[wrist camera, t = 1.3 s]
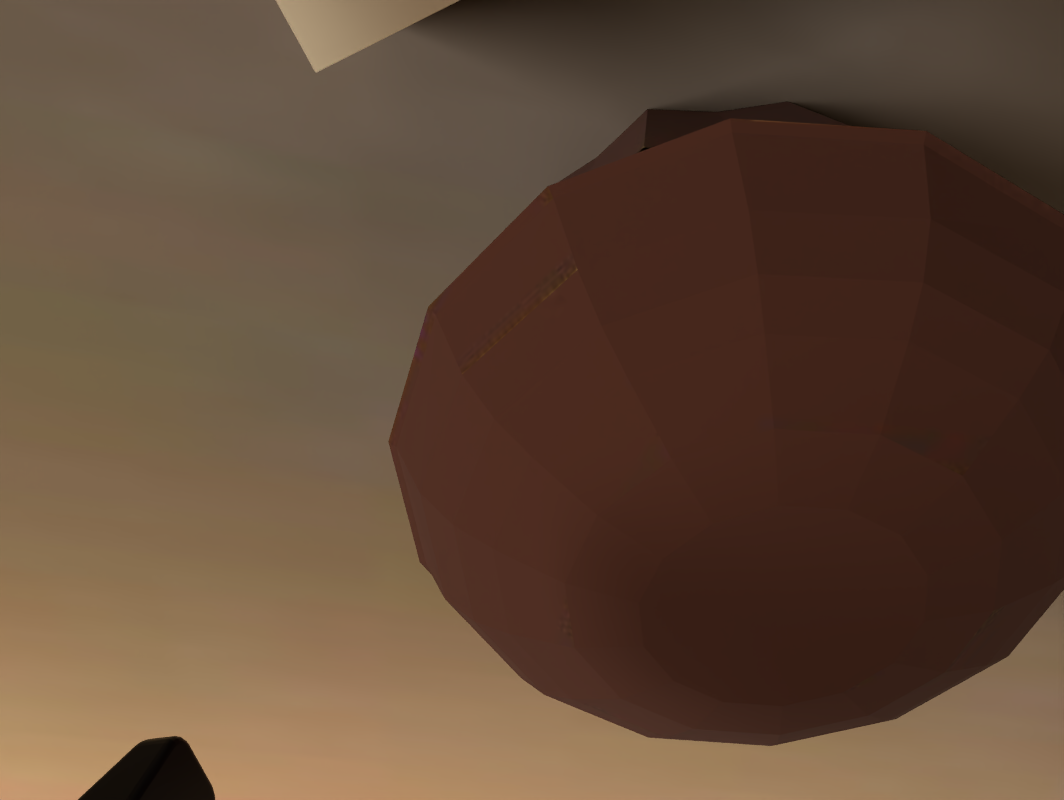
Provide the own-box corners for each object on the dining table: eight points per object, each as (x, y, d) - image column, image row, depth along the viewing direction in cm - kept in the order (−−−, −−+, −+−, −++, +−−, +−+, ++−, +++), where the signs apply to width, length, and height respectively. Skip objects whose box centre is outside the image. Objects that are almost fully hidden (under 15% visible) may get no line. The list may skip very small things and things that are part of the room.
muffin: (936, -66, 18) (1252, 29, 9) (1027, 425, 23) (1289, 788, 14) (358, 165, 21) (182, 404, 12) (550, 558, 26) (525, 928, 17)
